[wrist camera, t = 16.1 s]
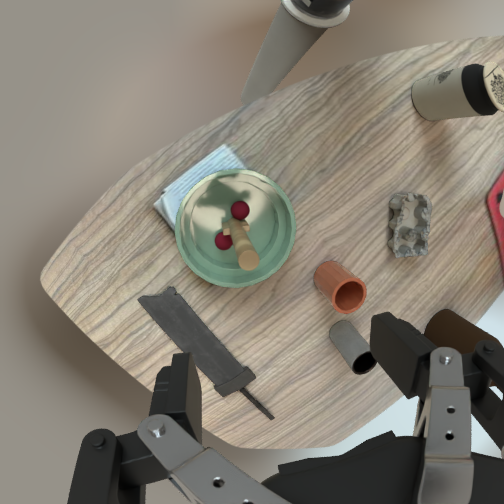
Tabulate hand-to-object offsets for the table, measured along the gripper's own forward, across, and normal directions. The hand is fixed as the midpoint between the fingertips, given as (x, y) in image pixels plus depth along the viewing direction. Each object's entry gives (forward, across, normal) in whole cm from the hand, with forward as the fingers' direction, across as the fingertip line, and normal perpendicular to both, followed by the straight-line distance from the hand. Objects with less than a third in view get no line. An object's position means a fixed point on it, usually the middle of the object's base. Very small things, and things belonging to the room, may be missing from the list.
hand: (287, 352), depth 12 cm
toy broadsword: (+32, +6, +24) cm, 40 cm away
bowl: (+32, 0, 0) cm, 32 cm away
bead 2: (+30, -1, -2) cm, 30 cm away
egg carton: (+32, -29, +4) cm, 44 cm away
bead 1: (+30, +2, +2) cm, 30 cm away
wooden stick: (+32, 0, 0) cm, 32 cm away
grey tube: (+32, -16, +22) cm, 42 cm away
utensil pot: (+32, -14, +11) cm, 37 cm away
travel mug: (+32, -37, -18) cm, 52 cm away
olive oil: (+32, -41, +29) cm, 60 cm away
